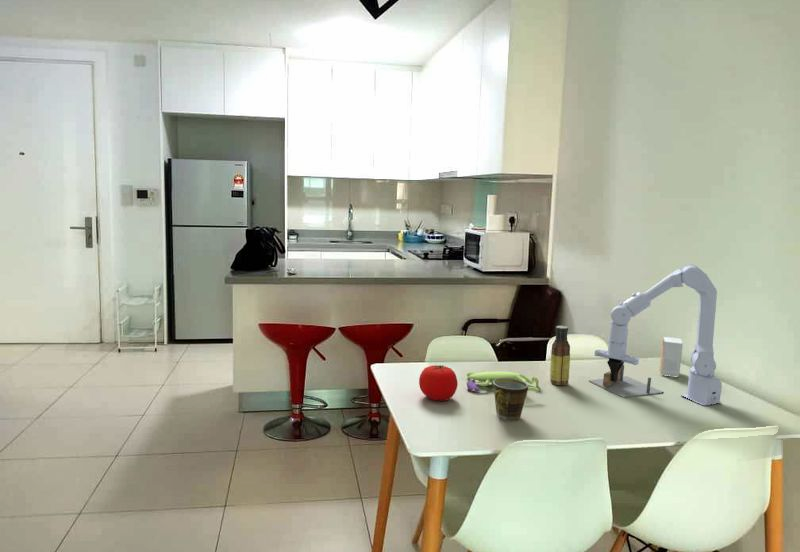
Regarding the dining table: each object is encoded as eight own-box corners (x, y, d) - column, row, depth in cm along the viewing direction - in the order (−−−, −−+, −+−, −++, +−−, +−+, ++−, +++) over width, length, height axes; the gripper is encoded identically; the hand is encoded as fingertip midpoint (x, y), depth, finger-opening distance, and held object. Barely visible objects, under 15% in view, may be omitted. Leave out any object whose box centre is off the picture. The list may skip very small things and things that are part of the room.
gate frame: (588, 381, 216) (590, 364, 215) (626, 377, 223) (628, 361, 222) (623, 397, 201) (625, 379, 200) (663, 393, 207) (665, 375, 206)
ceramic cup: (501, 407, 187) (504, 375, 185) (531, 416, 181) (534, 383, 179) (478, 419, 177) (481, 385, 175) (509, 429, 171) (512, 394, 169)
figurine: (535, 406, 191) (536, 388, 190) (453, 390, 201) (454, 373, 200) (547, 388, 207) (548, 372, 206) (470, 375, 218) (471, 360, 217)
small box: (659, 370, 234) (663, 336, 232) (677, 372, 232) (681, 338, 230) (660, 376, 226) (664, 341, 224) (679, 378, 224) (683, 343, 222)
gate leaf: (616, 379, 217) (617, 367, 216) (619, 380, 216) (621, 368, 215) (602, 386, 209) (604, 373, 208) (606, 387, 208) (607, 374, 207)
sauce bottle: (566, 381, 215) (571, 325, 212) (569, 387, 209) (575, 329, 206) (547, 379, 216) (552, 324, 213) (550, 385, 209) (554, 328, 206)
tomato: (464, 401, 190) (466, 368, 189) (432, 407, 184) (434, 373, 183) (441, 389, 200) (443, 358, 199) (411, 395, 194) (412, 362, 193)
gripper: (643, 344, 206) (639, 383, 208) (602, 335, 216) (598, 373, 218) (635, 347, 201) (631, 388, 203) (593, 338, 211) (589, 377, 213)
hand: (613, 380), depth 210 cm, fingers closed
